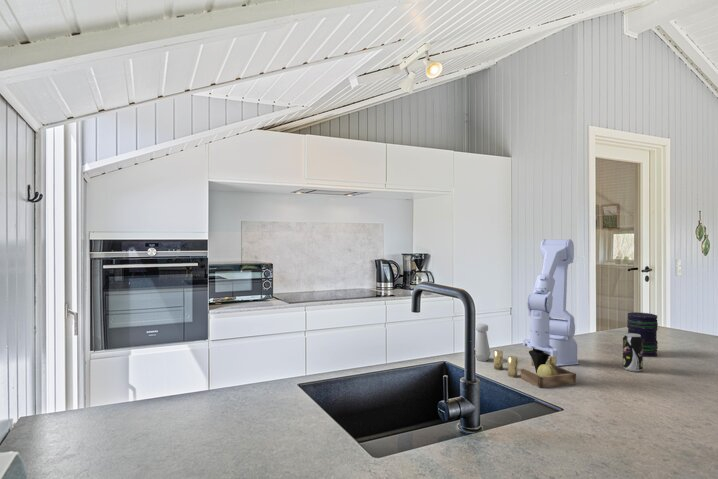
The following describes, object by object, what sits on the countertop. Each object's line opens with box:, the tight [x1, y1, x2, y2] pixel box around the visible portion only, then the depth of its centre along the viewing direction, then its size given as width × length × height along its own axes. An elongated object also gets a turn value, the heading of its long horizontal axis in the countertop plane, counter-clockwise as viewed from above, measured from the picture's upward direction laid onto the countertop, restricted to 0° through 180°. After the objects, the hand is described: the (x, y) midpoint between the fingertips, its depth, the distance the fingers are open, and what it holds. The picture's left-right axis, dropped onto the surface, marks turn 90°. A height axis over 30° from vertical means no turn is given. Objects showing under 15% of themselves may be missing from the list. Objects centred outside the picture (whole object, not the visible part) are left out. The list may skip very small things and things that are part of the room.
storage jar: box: [626, 311, 659, 358], centre depth 168 cm, size 10×10×15 cm
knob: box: [536, 363, 555, 377], centre depth 138 cm, size 5×5×5 cm
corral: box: [520, 366, 577, 389], centre depth 137 cm, size 13×9×3 cm
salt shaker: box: [475, 323, 491, 362], centre depth 161 cm, size 6×6×13 cm
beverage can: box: [622, 332, 644, 373], centre depth 148 cm, size 6×6×12 cm
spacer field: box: [493, 348, 557, 378], centre depth 148 cm, size 18×11×6 cm, turn 106°
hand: (539, 373), depth 141 cm, fingers closed
